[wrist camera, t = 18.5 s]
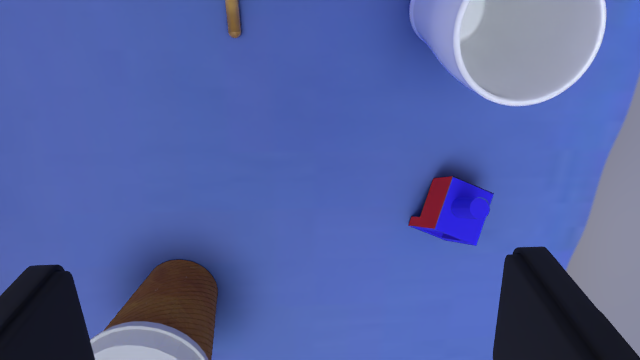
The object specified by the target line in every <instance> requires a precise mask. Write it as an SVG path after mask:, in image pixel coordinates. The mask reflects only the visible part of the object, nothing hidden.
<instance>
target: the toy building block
mask: <svg viewBox="0 0 640 360" xmlns="http://www.w3.org/2000/svg"><path fill="white" fill-rule="evenodd" d="M493 195H494V193H491V192H489V191H487V190H484V189H482V188H480V187H477V186H475V185H472V184H470V183H468V182H465V181H463V180H461V179H458V178H456V177H454V176H450V177H441V178H433V181H432V184H431V187H430V189H429V192H428V195H427V198H426V201H425V203H424V206H423V209H422V212H421V215H420V217H413V216H412V217H411V219H410V222H409V225H408V226H411V227H413V228H416V229H418V230H421V231H423V232H426V233H428V234H431V235H433V236H436V237H438V238H441V239H443V240H446V241H452V242H458V243H464V244H470V245H475V246H476V245H477V242H478V239H479V236H480V233H481V230H482V227H483V224H484V221H485V218H486V216H487V215H488V214H489V211H490V204H491V201H492V198H493Z"/></svg>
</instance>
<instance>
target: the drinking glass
mask: <svg viewBox="0 0 640 360" xmlns="http://www.w3.org/2000/svg"><path fill="white" fill-rule="evenodd" d="M409 16H410V21H411V25H412V27H413V30H414V31H415V33H416V34H417V36H418V37H419V38H420V39H421V40H422V41H423V42H425V43H426V44H427V46H428V47H429V48H430V50H431V51H432V52H433V54H434V55H435V56H436V58H437V59H438V60H439V62H440V63H441V64H442V66H443V67H444V68H445V69H446V70H447V71H448V72H449V73H450V74H451V75H452V76H453V77H454V78H455V79H456V80H458V81H459V82H460V83H461V84H463V85H464V86H466V87H467V88H469V89H470V90H472V91H473V92H475V93H477V94H479V95H481V96H482V97H484V98H486V99H488V100H490V101H492V102H495V103H498V104H502V105H508V106H527V105H533V104H537V103H540V102H544V101H546V100H549V99H551V98H553V97H555V96H557V95H559V94H560V93H562V92H563V91H565V90H566V89H568V88H569V87H570V86H572V85H573V84H574V83H575V82H576V81H577V80H578V79H579V78H580V77H581V76H582V75H583V74H584V73H585V71H586V70H587V69H588V67H589V66H590V65H591V63H592V61H593V60H594V58H595V56H596V54H597V52H598V50H599V48H600V45H601V43H602V39H603V36H604V32H605V26H606V3H605V0H411V1H410V7H409Z"/></svg>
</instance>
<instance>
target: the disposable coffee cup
mask: <svg viewBox="0 0 640 360" xmlns="http://www.w3.org/2000/svg"><path fill="white" fill-rule="evenodd" d="M217 296H218V288H217V284H216V282H215V280H214V278H213V276H212V275H211V274H210V273H209V272H208V271H207V270H206V269H205V268H204V267H202V266H200V265H199V264H196V263H194V262H191V261H186V260H171V261H167V262H164V263H162V264H160V265H158V266H157V267H156V268H155V269H153V271H152V272H151V273H150V275H149V276H148V277H147V278H146V280H145V281H144V282H143V283H142V284H141V286H140V287H139V288H138V289H137V290H136V292H135V293H134V294H133V295H132V297H131V298H130V299H129V300H128V301H127V303H126V304H125V305H124V306H123V307H122V309H121V310H120V311H119V312H118V314H117V315H116V316H115V318H114V319H113V320H112V321H111V322H110V323H109V325H108V326H107V327H106V328H105V330H104V331H103V332H101V333H99V334H98V335H96V336H95V337H93V338H92V339H91V340H90V342H91V346H92V350H93V353H94V357H95V360H211V356H212V349H213V338H214V327H215V315H216V304H217Z"/></svg>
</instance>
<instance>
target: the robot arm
mask: <svg viewBox="0 0 640 360" xmlns="http://www.w3.org/2000/svg"><path fill="white" fill-rule="evenodd" d="M0 360H95V357H94V353H93V350H92V346H91V342H90V339H89V335H88V331H87V328H86V324H85V320H84V317H83V313H82V309H81V306H80V302H79V298H78V295H77V291H76V287H75V284H74V280H73V277H72V274H71V273H70V272H68V271H64V269H63V268H62V266H60V265H37V266H30V267H28V268H27V269H26V270H25V271H24V272H23V273H22V274H21V275H20V276H19V277H18V278H17V279H16V280H15V281H14V282H13V283H12V284H11V285H10V286H9V287H8V288H7V290H6V291H5V292H4V293H3V294H2V295H1V296H0ZM493 360H640V358H639V356H638V355H637V354H636V353H635V351H634V350H633V349H632V348H631V347H630V345H629V344H628V343H627V342H626V341H625V339H624V338H623V337H622V336H621V335H620V334H619V332H618V331H617V330H616V329H615V328H614V326H613V325H612V324H611V323H610V322H609V321H608V319H607V318H606V317H605V316H604V315H603V314H602V313H601V312H600V311H599V310H598V309H597V308H596V307H595V306H594V304H593V303H592V302H591V301H590V300H589V299H588V297H587V296H586V295H585V294H584V292H583V291H582V290H581V289H580V288H579V287H578V285H577V284H576V283H575V282H574V281H573V280H572V278H571V277H570V276H569V275H568V273H567V272H566V271H565V270H564V269H563V267H562V266H561V265H560V264H559V263H558V261H557V260H556V259H555V258H554V257H553V255H552V254H551V253H550V252H549V251H548V249H546V248H545V247H520V248H516V249H515V250H514V252H513V255H507V256H506V258H505V263H504V270H503V278H502V286H501V294H500V301H499V309H498V317H497V325H496V332H495V340H494V348H493Z"/></svg>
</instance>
